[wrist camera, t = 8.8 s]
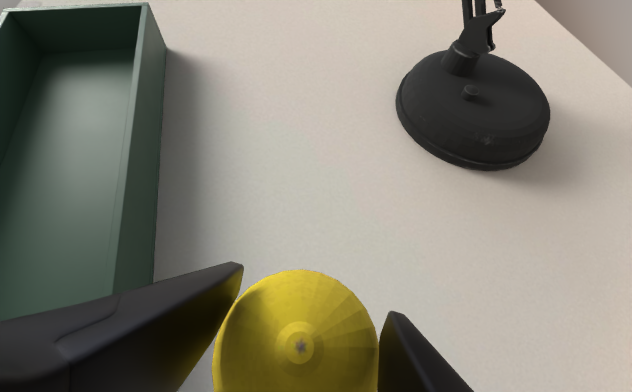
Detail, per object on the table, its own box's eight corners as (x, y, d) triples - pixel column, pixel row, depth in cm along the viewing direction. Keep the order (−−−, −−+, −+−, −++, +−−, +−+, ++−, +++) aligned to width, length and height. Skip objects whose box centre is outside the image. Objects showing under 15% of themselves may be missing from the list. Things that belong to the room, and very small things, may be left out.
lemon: (357, 434, 12) (438, 517, 5) (225, 430, 12) (135, 513, 5) (352, 298, 15) (402, 240, 8) (245, 293, 15) (204, 230, 8)
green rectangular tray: (147, 376, 18) (102, 380, 14) (-103, 434, 16) (-246, 460, 12) (166, 46, 35) (148, 2, 30) (42, 55, 33) (3, 8, 28)
